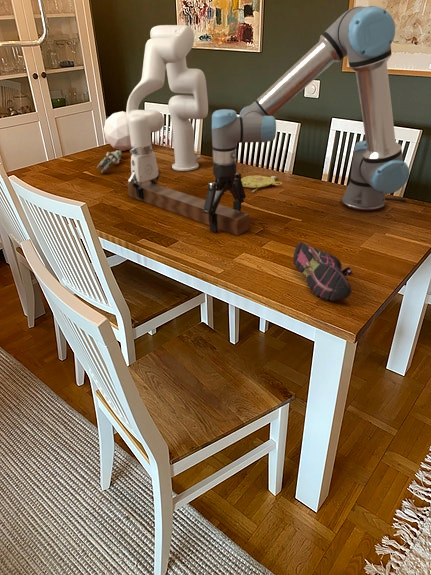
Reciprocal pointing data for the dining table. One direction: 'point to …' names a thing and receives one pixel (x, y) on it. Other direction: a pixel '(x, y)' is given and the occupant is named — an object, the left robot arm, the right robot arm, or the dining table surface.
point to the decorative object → (258, 181)
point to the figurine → (110, 160)
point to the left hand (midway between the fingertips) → (147, 195)
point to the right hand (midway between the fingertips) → (225, 225)
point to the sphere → (117, 131)
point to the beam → (191, 207)
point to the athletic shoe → (322, 272)
